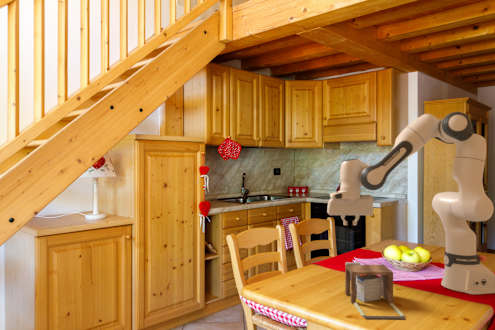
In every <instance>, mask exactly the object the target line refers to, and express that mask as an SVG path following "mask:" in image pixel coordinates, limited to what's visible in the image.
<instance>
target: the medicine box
mask: <svg viewBox="0 0 495 330" xmlns="http://www.w3.org/2000/svg"><path fill="white" fill-rule="evenodd" d="M381 299H382V296H381V277H380V275H360V276H357V292H356V300H359V301H360V302H362V303H368V302H374V301H379V300H381Z"/></svg>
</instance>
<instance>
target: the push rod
mask: <svg viewBox="0 0 495 330" xmlns="http://www.w3.org/2000/svg"><path fill="white" fill-rule="evenodd" d="M344 265H361V262H354V261H353V262H349V261H346V262H345V264H344ZM357 276H361V275H356V293H357ZM350 280H351V273H350Z"/></svg>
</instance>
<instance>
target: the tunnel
mask: <svg viewBox="0 0 495 330" xmlns="http://www.w3.org/2000/svg"><path fill="white" fill-rule="evenodd" d="M344 265H345V264H344ZM344 267H345V270H344V271H345V273H344V274H345V275H344V276H345V277H344V282H345V284H344V285H345V286H344V287H345V289H344V290H345V293H344V294H345V296H350V303H351V304H354V303H357V292H356V275H360V276H363V275H377V276H379V277H381V298H383V299H384V300H385V301H386V302H387V303H388V304H389V305H390V303H393V304H394V271H392V270H391V269H390V268H389V267H387V266H386V265H385V264H360V265H345V266H344ZM350 273H351V279H350Z"/></svg>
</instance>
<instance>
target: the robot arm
mask: <svg viewBox="0 0 495 330" xmlns="http://www.w3.org/2000/svg"><path fill="white" fill-rule="evenodd" d="M432 139H436V140H438V141H440V142H442V143H445V144H447V145H448V144H449V145H452V144H454V145H455V150H456V151H455V155H454V159H453V160H454V161H453V165H452V171H451V178H452V180H454V181H455V182H456V183H457V186H458V192H456V191H443V192H438V193H436V194H435V195H434V196H433V198H432V201H431V206H432V209H433V212H435V213H436V214H437V215H438V217H439V218H440V221H441V223H442V226H443V229H444V235H445V251H444V253H443V254H444V256H443V262H444V271H443V276H442V280H441V283H440V284H441V286H443V288H447V289H449V290H452V291H455V292H461V293H465V294H469V295H485V294H495V273H494V272H493V271H492V270H490V269H489V268H488V267H487V266H485V265H484V264H483V263H482V262H486V261H487V257H486V256H484V255H479V254H478V253H477V235H476V233H475V232H474V230H472V229H471V228H470V226H469V225H468V223H467V221H469V222H486V221H488V220H489V219H490V218H492V215H493V214H494V209H495V208H494V204H493V201H492V200H491V199H490V198H489V197H488V195H487V194H486V192H485V189H484V185H483V184H484V183H483V179H484V178H483V177H484V170H485V164H486V159H487V140H486V139H485V137H484V136H482V135H480V134H477V133H475V128H474V126H473V124H472V120H471V119H470V117H469V115H467V114H466V113H464V112H463V111H462V112H461V111H454V112H450V113H448V114H446V116H444V117H443V119H442V118H441V119H440V118H438V117H436V116H435V115H433V114H431V113H424V114H422V115H420V116H419V117H417V118H415V119H414V120H412V122H411V123H409V124H408V125H407V126H406V127H404V128H403V129H402V131H401V132H400V133H399V134H398V135H397V137H396V138H395V140H394V144H393V147H392V149H391V150H390V151H389V152H388V153H387V154H386V155H385V156H384V157H383V158H382V159H381V160H379V162H377V163H376V164H373V165H370V164H368V163H365V162H363V161H361V160H360V159H359V158H350V159H345V160H343V161H342V162H341V164H340V172H339V173H340V174H339V179H340V188H339V190H338V191H337V190H336V191H334V192H331V193H330V194H329V197H330V198H329V199H328V202H327V207H326V208H327V209H326V213H327V214H328V215H329V216H340V218H341V220H342V221H343V222H342V223H343V226H348V221H347V220H346V219H345V218H346V216H354V217H355V219H354V220H352V226H357V225H358V221H359V219H360V216H373V215H374V205H373V204H374V197H373V196H372V195H370V194H361V187H362V186H363V187H364V188H365V189H367V190H369V191H377V190H380V189H382V187H383V186H384V185H385V184H386V181H387V178H388V177H389V175H390V174H391V173H392V172H393V171H394V170H395V169H396V168H397V167H398V166H400V164H401V163H403V161H404V160H405V159H407V158H408V157H411V156H412V155H414V154H416V153H417V152H418V151H420V149H421V150H422V148H424V146H425V145H427V144H428V143H429V142H430V141H432ZM481 261H482V262H481Z"/></svg>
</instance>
